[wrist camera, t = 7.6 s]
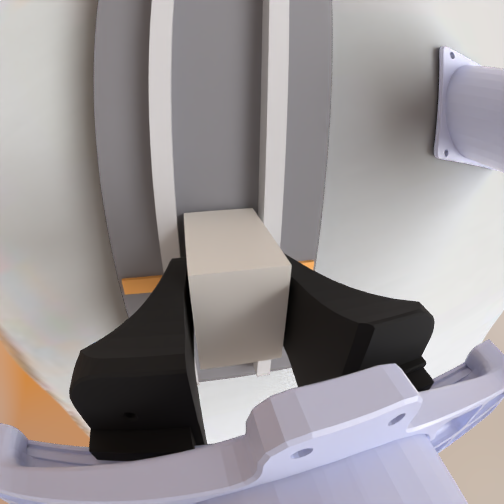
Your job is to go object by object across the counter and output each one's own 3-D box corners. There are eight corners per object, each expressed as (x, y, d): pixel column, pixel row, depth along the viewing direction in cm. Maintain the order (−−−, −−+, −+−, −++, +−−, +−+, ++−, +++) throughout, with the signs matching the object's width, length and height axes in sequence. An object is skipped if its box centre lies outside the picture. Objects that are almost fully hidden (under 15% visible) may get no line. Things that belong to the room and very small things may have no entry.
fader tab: (252, 207, 13) (291, 264, 9) (251, 284, 15) (281, 357, 11) (183, 213, 12) (187, 276, 8) (190, 291, 14) (200, 369, 10)
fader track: (309, -93, 7) (331, -115, 4) (289, 346, 21) (303, 376, 18) (130, -100, 5) (125, -127, 2) (151, 364, 19) (151, 398, 16)
